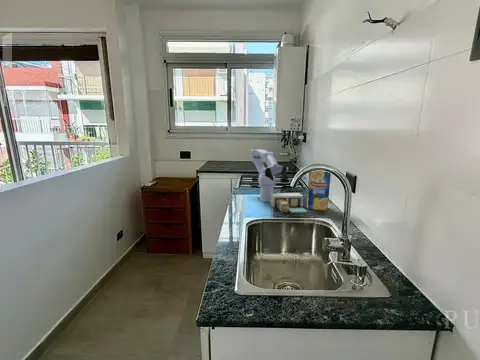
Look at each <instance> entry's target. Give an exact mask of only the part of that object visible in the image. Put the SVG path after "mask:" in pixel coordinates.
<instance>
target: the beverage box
mask: <svg viewBox="0 0 480 360" xmlns="http://www.w3.org/2000/svg"><path fill="white" fill-rule="evenodd" d="M331 174H332V173H331ZM331 174H330V173H328V172H325V171H314V172H310V173H308V186H307V198H306V199H307V200H306V207H307V209H308V210H316V211H317V210H318V211H319V210H321V211H328V207H329V198H330V185H331V176H332V175H331Z"/></svg>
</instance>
